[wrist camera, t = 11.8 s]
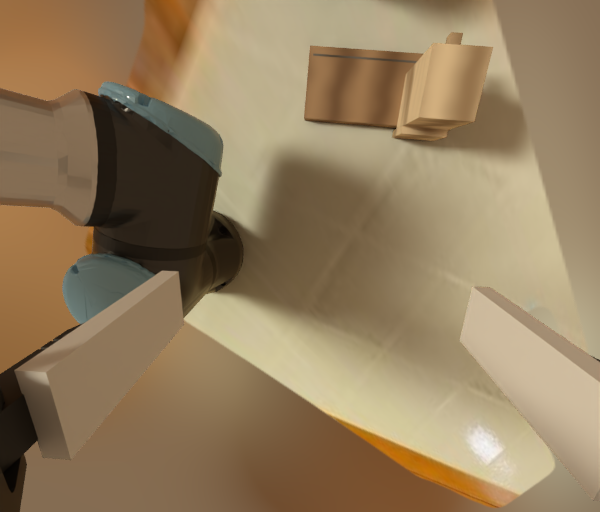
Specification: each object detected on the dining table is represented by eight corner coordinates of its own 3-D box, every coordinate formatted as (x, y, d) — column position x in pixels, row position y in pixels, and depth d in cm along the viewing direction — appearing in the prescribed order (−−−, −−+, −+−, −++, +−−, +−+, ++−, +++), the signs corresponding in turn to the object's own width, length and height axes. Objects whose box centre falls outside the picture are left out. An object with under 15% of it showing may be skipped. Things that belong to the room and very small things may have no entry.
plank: (305, 120, 43) (304, 117, 41) (310, 51, 40) (310, 45, 38) (444, 131, 42) (450, 130, 40) (459, 62, 39) (467, 56, 37)
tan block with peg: (392, 137, 43) (417, 126, 31) (405, 61, 40) (438, 19, 28) (432, 140, 42) (472, 130, 31) (448, 65, 39) (498, 23, 28)
